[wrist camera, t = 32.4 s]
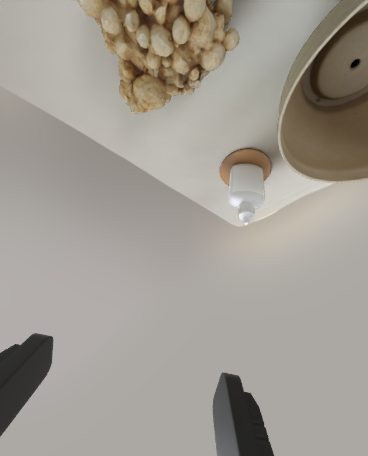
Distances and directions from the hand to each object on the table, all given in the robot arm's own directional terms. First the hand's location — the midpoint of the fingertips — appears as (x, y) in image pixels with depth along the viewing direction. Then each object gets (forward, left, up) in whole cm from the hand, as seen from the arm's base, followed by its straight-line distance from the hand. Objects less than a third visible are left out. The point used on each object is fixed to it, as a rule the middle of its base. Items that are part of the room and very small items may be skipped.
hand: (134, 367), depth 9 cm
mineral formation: (-4, -5, -31) cm, 32 cm away
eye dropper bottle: (+11, +10, -30) cm, 34 cm away
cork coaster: (+12, +10, -31) cm, 34 cm away
